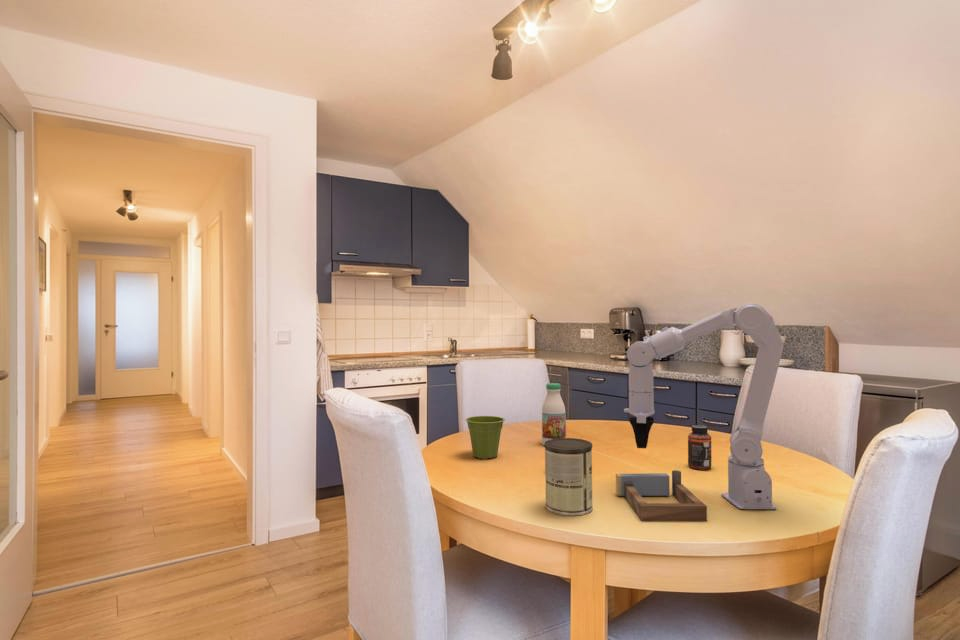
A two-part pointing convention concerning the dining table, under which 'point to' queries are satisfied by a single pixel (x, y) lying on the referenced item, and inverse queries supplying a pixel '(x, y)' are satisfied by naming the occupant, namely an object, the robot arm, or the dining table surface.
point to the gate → (644, 484)
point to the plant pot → (485, 435)
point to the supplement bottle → (699, 448)
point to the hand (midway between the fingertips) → (641, 447)
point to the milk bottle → (553, 414)
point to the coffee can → (568, 476)
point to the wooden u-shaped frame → (668, 504)
